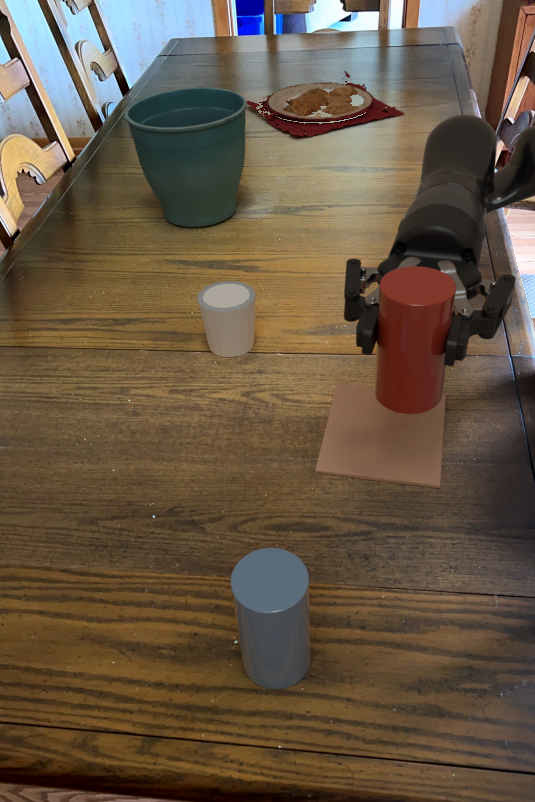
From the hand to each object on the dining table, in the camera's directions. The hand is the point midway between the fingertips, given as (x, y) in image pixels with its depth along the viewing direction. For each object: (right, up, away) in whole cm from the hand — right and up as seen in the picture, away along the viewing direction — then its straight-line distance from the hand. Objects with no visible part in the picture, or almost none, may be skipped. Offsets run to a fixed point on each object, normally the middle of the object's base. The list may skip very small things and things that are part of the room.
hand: (407, 350), depth 52 cm
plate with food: (+1, +57, +100) cm, 115 cm away
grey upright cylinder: (-9, -24, +4) cm, 26 cm away
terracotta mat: (+2, -7, +22) cm, 24 cm away
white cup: (-15, +3, +36) cm, 39 cm away
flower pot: (-21, +27, +65) cm, 74 cm away
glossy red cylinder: (+1, -3, +6) cm, 7 cm away
